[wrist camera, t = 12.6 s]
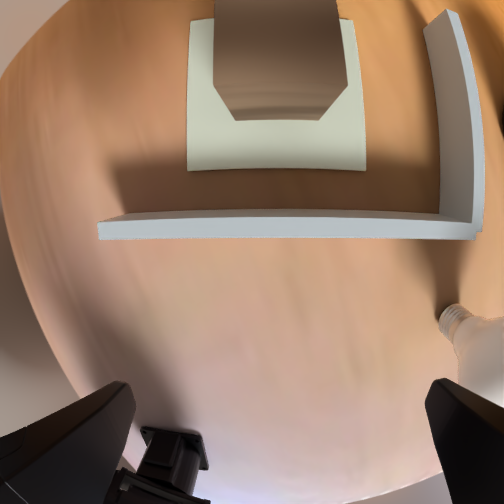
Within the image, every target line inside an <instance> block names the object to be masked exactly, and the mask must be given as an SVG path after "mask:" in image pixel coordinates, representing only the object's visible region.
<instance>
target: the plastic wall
mask: <svg viewBox="0 0 504 504" xmlns="http://www.w3.org/2000/svg"><path fill="white" fill-rule="evenodd" d="M423 34H424V38H425V42H426V46H427V51H428V56H429V60H430V66H431V71H432V77H433V83H434V90H435V97H436V105H437V115H438V126H439V142H440V204H439V214H432V213H416V212H396V211H373V210H340V209H220V210H186V211H162V212H142V213H128V214H124V215H121V216H117V217H114V218H110V219H107V220H104V221H100V222H97V225H98V234H99V240H116V239H169V238H401V239H452V240H476V232H482V224H483V212H484V193H485V158H484V139H483V127H482V117H481V109H480V102H479V95H478V89H477V84H476V79H475V74H474V69H473V65H472V60H471V56H470V52H469V49H468V45H467V41H466V38H465V35H464V31H463V28H462V25H461V22H460V19H459V16H458V13H455V12H453V11H451V10H448V9H445V10H444V11H443V12H442V13H441V14H440V15H438V16H437V17H436V18H435V19H434V20H433V21H432V22H431V23H429V24H428V25H427V26H426V27H425V28H424V29H423Z"/></svg>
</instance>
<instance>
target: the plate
mask: <svg viewBox="0 0 504 504" xmlns="http://www.w3.org/2000/svg"><path fill="white" fill-rule="evenodd" d="M339 20H340V26H341V32H342V39H343V46H344V54H345V62H346V70H347V80H348V86H347V87H346V89H345V90H344V91H343V92H342V93H341V94H340V96H339V97H338V98H337V99H336V100H335V102H334V103H333V104H332V105H331V106H330V108H329V109H328V110H327V111H326V112H325V114H324V115H323V116H322V117H321V118H320V120H319V121H314V120H247V121H235V119H234V118H233V116H232V115H231V113H230V111H229V110H228V108H227V107H226V105H225V103H224V102H223V100H222V99H221V97H220V96H219V94H218V92H217V91H216V89H215V88H214V86H213V39H214V18H210V19H203V20H196V21H191V23H190V38H189V56H188V82H187V171H200V170H220V169H252V168H305V169H336V170H356V171H366V137H365V117H364V103H363V91H362V81H361V72H360V63H359V56H358V49H357V42H356V36H355V30H354V24H353V21H352V20H345V19H339Z"/></svg>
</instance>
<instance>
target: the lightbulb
mask: <svg viewBox="0 0 504 504" xmlns="http://www.w3.org/2000/svg"><path fill="white" fill-rule="evenodd" d="M438 326H439V330H440V332H441V333H443V335H444V336H445V337H446V338H447V339H448V340H449V341H450V342H451V343H452V344H453V348H454V351H455V354H456V356H457V358H458V385H460V386H462V387H464V388H466V389H468V390H470V391H472V392H474V393H476V394H478V395H480V396H481V397H483V398H485V399H487V400H489V401H491V402H493V403H495V404H497V405H499V406H501V407H503V408H504V316H503V317H497V318H493V319H486V318H484V317H481V316H474V315H473V314H472V313H470V312H469V311H468V310H467V309H465V308H464V307H463V306H461V305H460V304H452V305H450V306H448V307H447V308H446V309H445V310H444V311H443V313H442V314H441V316H440V319H439V324H438Z"/></svg>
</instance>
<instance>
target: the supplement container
mask: <svg viewBox="0 0 504 504" xmlns="http://www.w3.org/2000/svg"><path fill="white" fill-rule="evenodd" d="M502 125H503V131H504V107H503V112H502Z"/></svg>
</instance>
